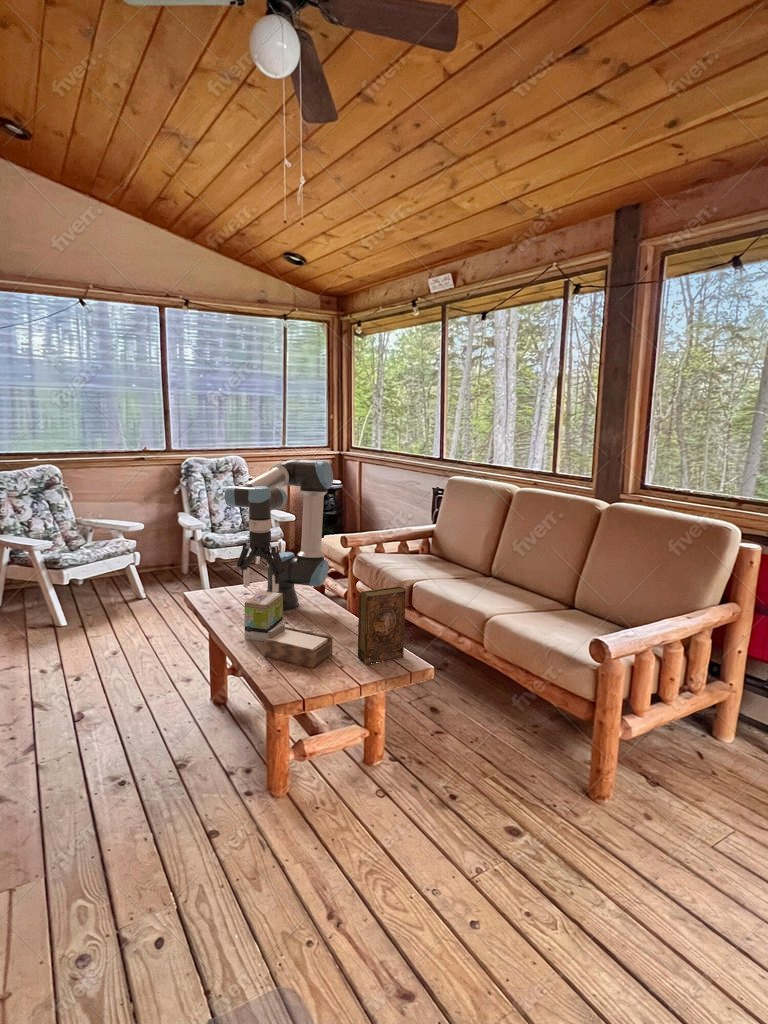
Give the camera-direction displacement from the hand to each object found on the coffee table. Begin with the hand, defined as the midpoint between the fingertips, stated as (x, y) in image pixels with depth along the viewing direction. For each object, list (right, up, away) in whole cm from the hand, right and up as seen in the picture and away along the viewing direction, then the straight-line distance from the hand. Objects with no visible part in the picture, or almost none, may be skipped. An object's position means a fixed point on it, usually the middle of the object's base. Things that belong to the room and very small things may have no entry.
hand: (261, 589), depth 210 cm
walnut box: (+14, -23, -2) cm, 27 cm away
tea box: (-2, -20, +17) cm, 26 cm away
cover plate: (+14, -18, -3) cm, 23 cm away
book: (+43, -25, -2) cm, 50 cm away
